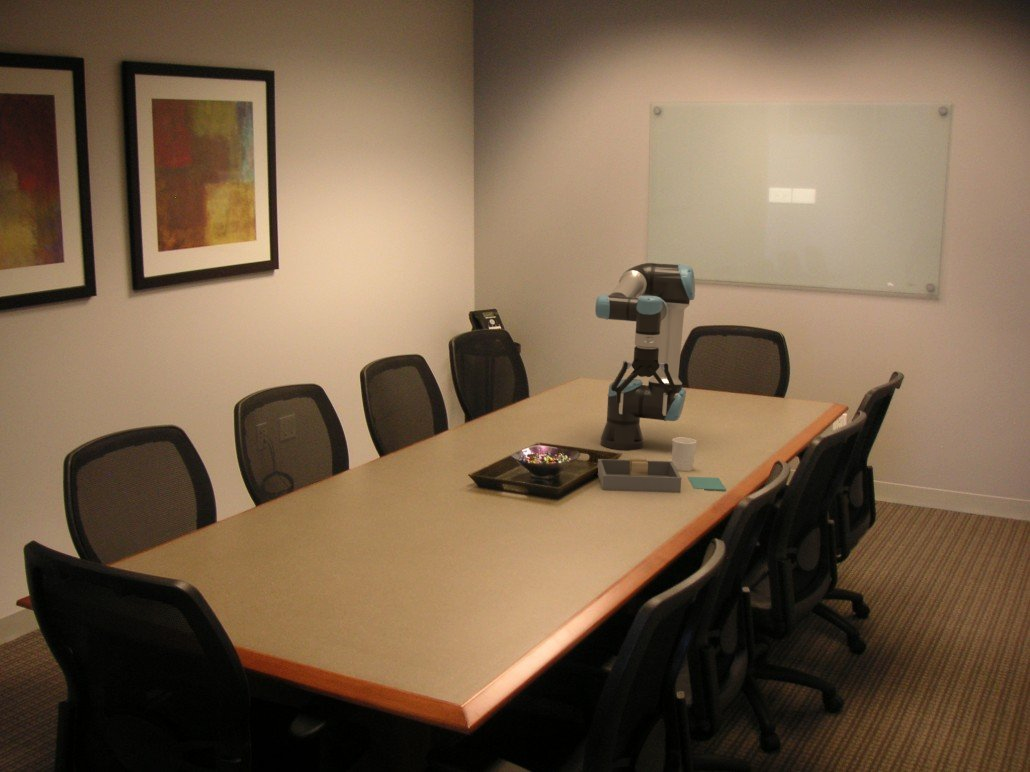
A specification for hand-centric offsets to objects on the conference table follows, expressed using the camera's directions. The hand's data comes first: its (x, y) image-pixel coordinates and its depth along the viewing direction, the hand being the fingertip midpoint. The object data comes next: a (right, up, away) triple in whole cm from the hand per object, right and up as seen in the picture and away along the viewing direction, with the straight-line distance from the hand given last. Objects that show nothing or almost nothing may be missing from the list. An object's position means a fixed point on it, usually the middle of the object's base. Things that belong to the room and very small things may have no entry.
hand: (642, 413), depth 341 cm
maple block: (-1, -22, +5) cm, 22 cm away
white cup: (+16, -19, +22) cm, 33 cm away
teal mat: (+21, -23, +7) cm, 32 cm away
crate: (-1, -22, +5) cm, 23 cm away
